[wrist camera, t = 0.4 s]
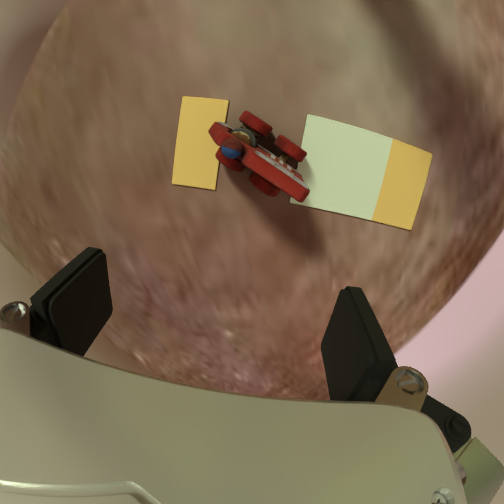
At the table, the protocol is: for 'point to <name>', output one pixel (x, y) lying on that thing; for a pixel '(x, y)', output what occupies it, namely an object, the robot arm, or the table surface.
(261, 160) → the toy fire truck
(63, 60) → the table surface
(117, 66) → the table surface
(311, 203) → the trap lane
